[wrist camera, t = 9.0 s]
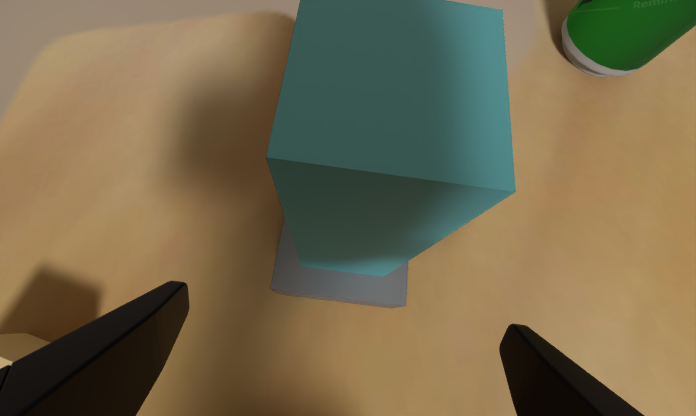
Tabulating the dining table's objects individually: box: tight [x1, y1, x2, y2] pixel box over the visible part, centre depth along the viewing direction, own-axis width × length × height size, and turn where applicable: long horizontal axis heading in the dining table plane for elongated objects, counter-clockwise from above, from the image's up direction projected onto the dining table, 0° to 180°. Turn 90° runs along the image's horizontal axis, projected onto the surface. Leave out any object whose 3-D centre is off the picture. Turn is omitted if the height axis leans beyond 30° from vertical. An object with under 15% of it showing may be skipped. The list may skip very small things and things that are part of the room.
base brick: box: [270, 215, 408, 308], centre depth 19 cm, size 7×7×4 cm
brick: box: [0, 333, 50, 369], centre depth 15 cm, size 4×4×4 cm
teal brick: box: [266, 0, 516, 277], centre depth 12 cm, size 4×4×12 cm
